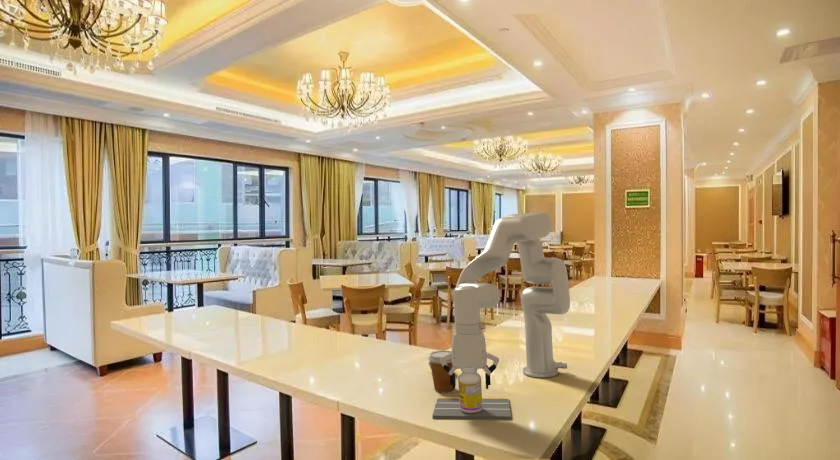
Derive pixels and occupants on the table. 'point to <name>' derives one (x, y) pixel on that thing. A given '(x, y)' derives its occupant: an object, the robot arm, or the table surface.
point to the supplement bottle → (470, 390)
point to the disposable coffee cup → (440, 371)
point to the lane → (490, 410)
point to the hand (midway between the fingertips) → (470, 387)
